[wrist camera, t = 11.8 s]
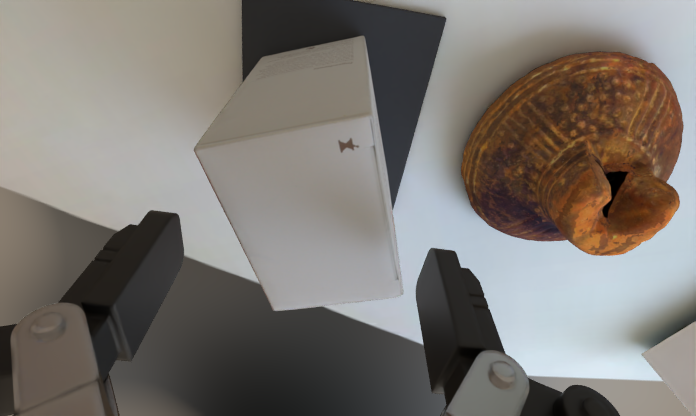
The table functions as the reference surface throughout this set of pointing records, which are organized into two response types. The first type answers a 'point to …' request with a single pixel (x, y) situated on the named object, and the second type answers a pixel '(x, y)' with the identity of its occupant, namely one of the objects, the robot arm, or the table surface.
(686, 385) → the bracket
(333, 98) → the small box
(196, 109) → the table surface
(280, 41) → the coaster
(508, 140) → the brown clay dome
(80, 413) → the robot arm
